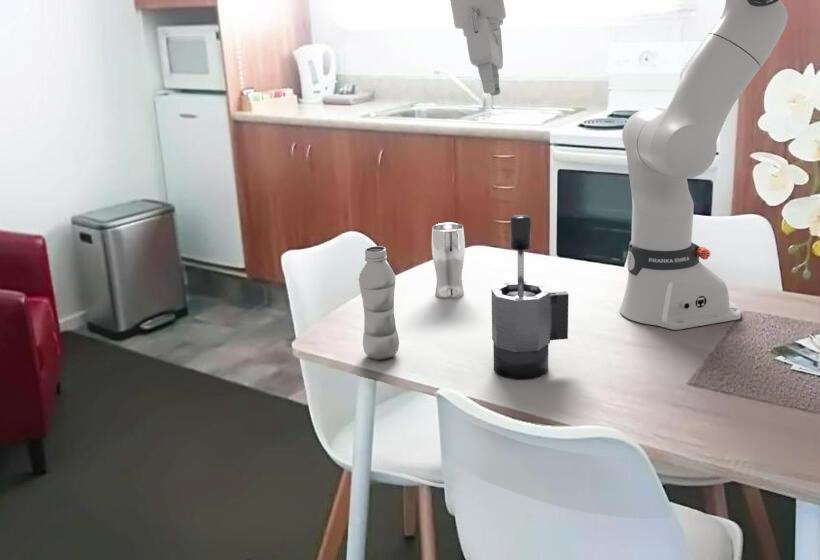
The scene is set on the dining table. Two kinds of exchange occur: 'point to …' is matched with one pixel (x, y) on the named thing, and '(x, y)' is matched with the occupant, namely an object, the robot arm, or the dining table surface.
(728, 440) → the dining table surface
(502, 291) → the press carafe
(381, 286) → the plastic bottle
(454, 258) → the beer glass
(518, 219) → the plunger
